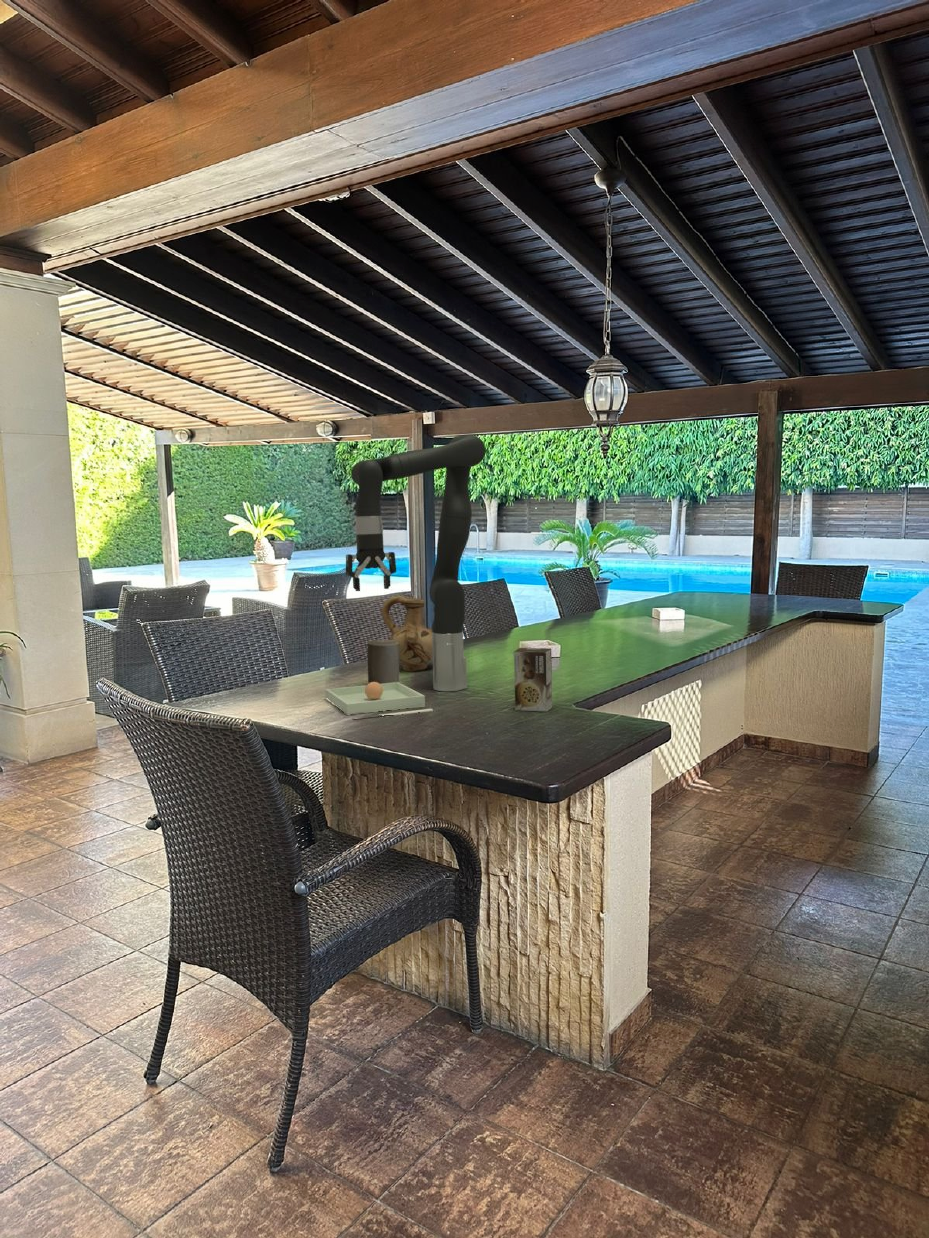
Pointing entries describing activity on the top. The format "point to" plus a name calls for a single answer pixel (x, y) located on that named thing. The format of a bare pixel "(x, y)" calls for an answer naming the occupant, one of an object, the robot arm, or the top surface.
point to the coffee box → (533, 679)
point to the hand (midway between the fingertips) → (372, 589)
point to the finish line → (408, 712)
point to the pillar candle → (383, 661)
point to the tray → (391, 699)
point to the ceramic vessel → (410, 634)
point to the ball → (373, 690)
